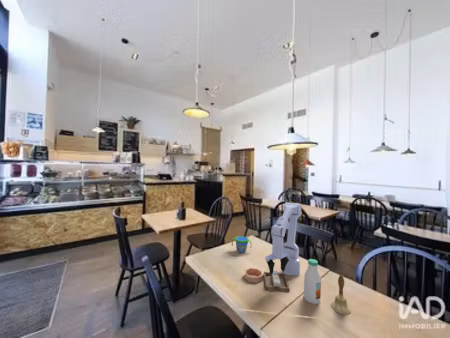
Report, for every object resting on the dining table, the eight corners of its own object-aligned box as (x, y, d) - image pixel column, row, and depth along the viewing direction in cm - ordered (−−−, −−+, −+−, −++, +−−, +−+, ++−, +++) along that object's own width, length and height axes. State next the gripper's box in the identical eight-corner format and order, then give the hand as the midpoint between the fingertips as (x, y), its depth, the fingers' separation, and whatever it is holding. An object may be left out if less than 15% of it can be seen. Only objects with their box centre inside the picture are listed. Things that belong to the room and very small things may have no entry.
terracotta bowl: (261, 274, 124) (262, 268, 124) (263, 284, 114) (263, 278, 114) (244, 273, 126) (245, 267, 126) (244, 282, 115) (244, 276, 115)
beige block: (278, 280, 117) (278, 275, 117) (279, 284, 113) (279, 278, 113) (272, 280, 117) (272, 274, 117) (272, 283, 114) (273, 278, 114)
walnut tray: (284, 276, 122) (284, 273, 122) (289, 292, 107) (289, 288, 107) (263, 275, 124) (263, 271, 124) (265, 290, 108) (265, 286, 108)
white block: (279, 285, 112) (279, 279, 112) (280, 289, 109) (280, 282, 109) (273, 284, 113) (273, 278, 113) (273, 288, 109) (274, 282, 109)
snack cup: (252, 249, 161) (252, 237, 161) (250, 255, 151) (250, 242, 151) (233, 247, 166) (233, 235, 166) (230, 252, 156) (230, 239, 155)
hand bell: (349, 317, 90) (350, 282, 90) (328, 308, 96) (329, 275, 95) (352, 307, 96) (353, 274, 96) (333, 300, 102) (334, 268, 102)
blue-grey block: (277, 277, 121) (277, 271, 121) (278, 280, 117) (278, 274, 117) (271, 276, 121) (271, 270, 121) (272, 279, 118) (272, 274, 118)
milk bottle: (310, 306, 97) (311, 265, 97) (300, 296, 104) (301, 258, 104) (323, 303, 99) (325, 263, 99) (313, 294, 106) (314, 256, 106)
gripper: (283, 243, 117) (282, 266, 117) (262, 246, 111) (261, 270, 112) (291, 247, 111) (291, 272, 111) (270, 251, 105) (269, 277, 105)
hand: (277, 271), depth 111 cm, fingers open, 7 cm apart
